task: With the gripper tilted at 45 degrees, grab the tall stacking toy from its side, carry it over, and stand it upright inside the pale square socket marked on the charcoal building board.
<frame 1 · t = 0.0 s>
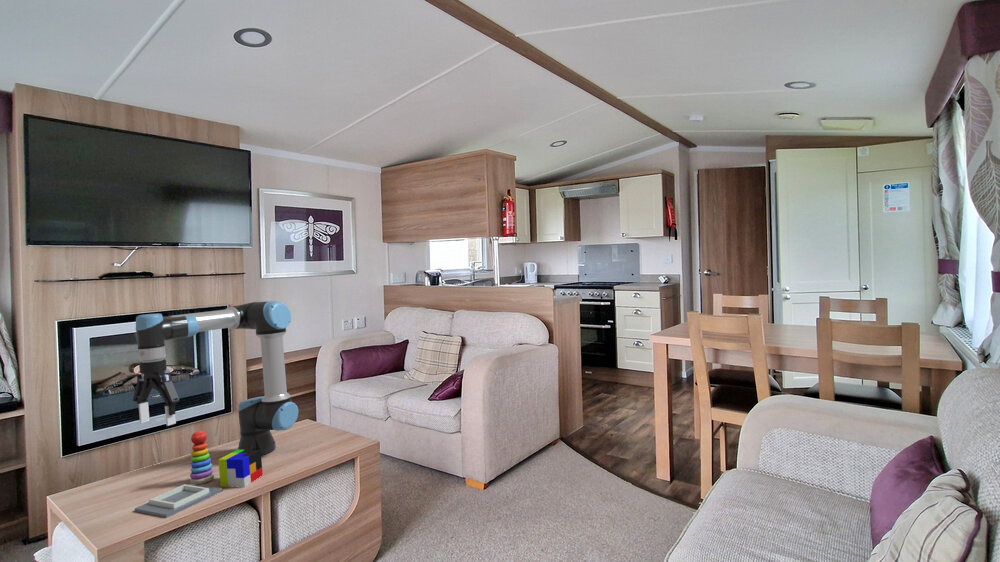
hand: (157, 423, 175), 28 cm above the table, tool pointing down, fingers open, 13 cm apart
building board: (180, 501, 178), on the table
stacking toy: (202, 481, 196), on the table
puzzle toy: (242, 481, 193), on the table
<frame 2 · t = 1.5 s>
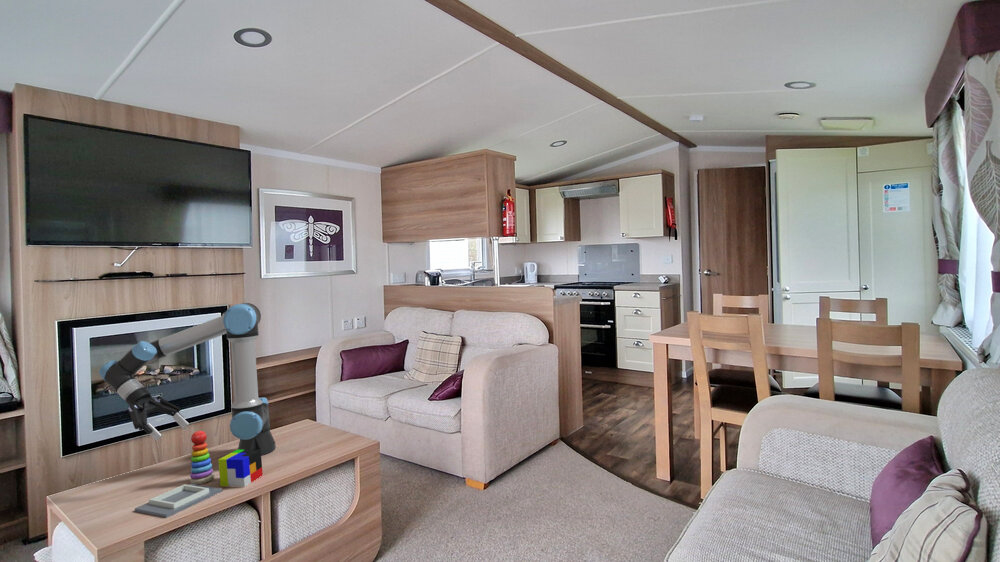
hand: (173, 432, 197), 19 cm above the table, tool tilted 45°, fingers open, 13 cm apart
nothing on the table moved.
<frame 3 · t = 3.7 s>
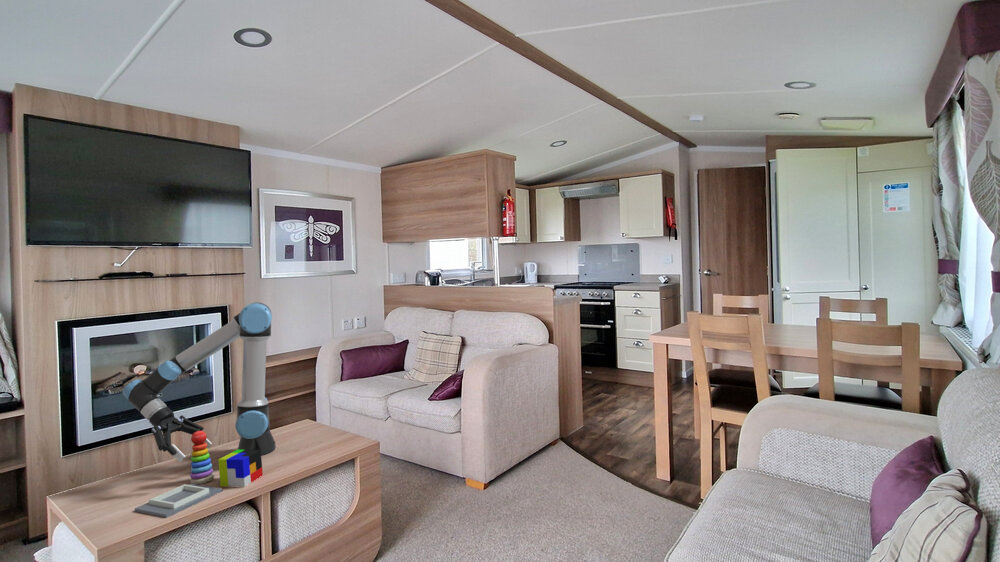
hand: (196, 452, 195), 11 cm above the table, tool tilted 45°, fingers open, 13 cm apart
nothing on the table moved.
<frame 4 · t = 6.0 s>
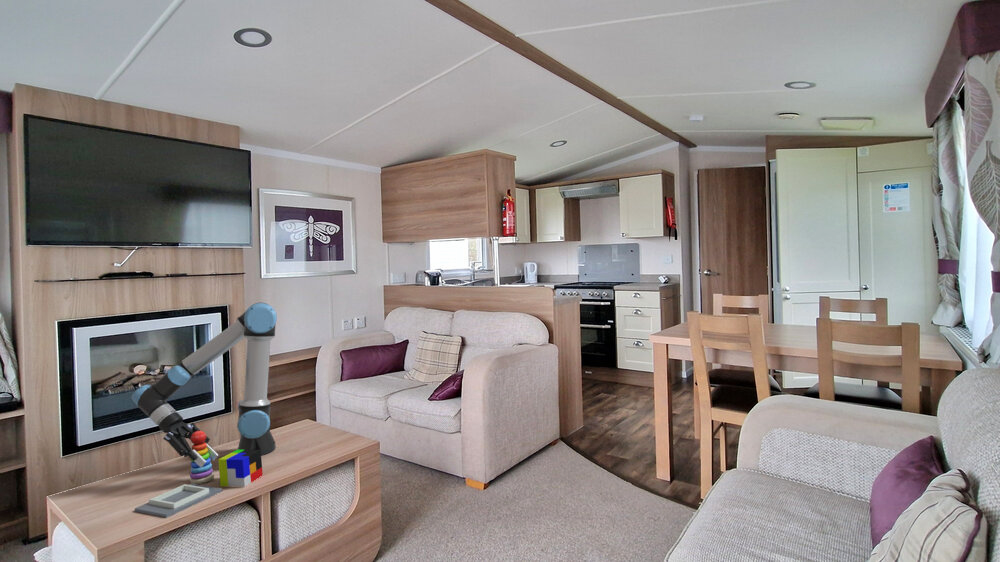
hand: (209, 461, 195), 7 cm above the table, tool tilted 45°, fingers closed on stacking toy, 6 cm apart
stacking toy: (202, 481, 196), on the table, touching gripper
everything else where it was.
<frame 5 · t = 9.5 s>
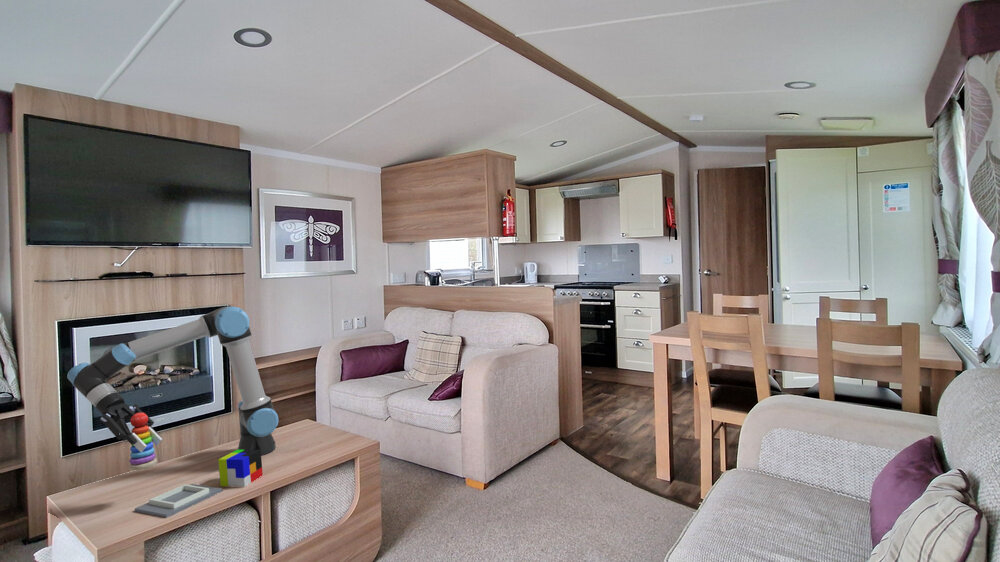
hand: (151, 445, 179), 19 cm above the table, tool tilted 45°, fingers closed on stacking toy, 6 cm apart
stacking toy: (143, 467, 180), point 12 cm above the table, touching gripper
everything else where it was.
when the fingers open (10 cm above the table, at t = 13.0 s): stacking toy drops 1 cm, resting on building board.
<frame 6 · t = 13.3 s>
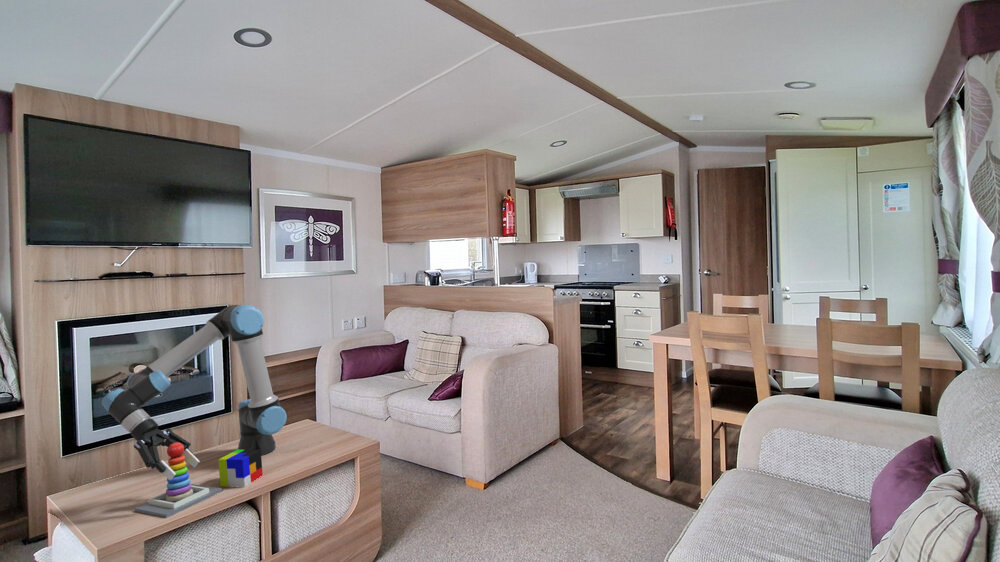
hand: (185, 470, 178), 11 cm above the table, tool tilted 45°, fingers open, 10 cm apart
stacking toy: (179, 498, 179), point 1 cm above the table, touching building board
everything else where it was.
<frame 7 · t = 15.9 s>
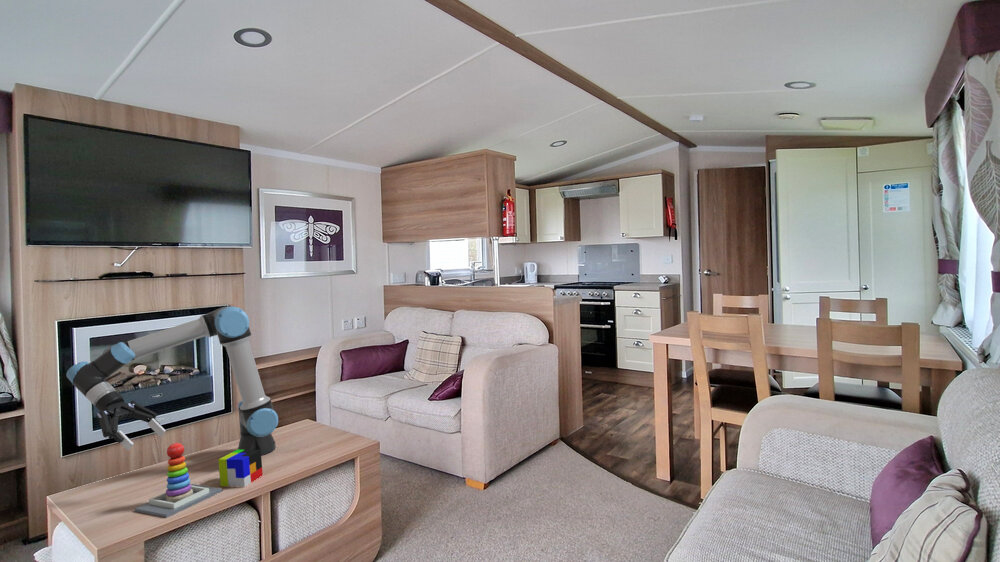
hand: (147, 440, 179), 21 cm above the table, tool tilted 45°, fingers open, 13 cm apart
nothing on the table moved.
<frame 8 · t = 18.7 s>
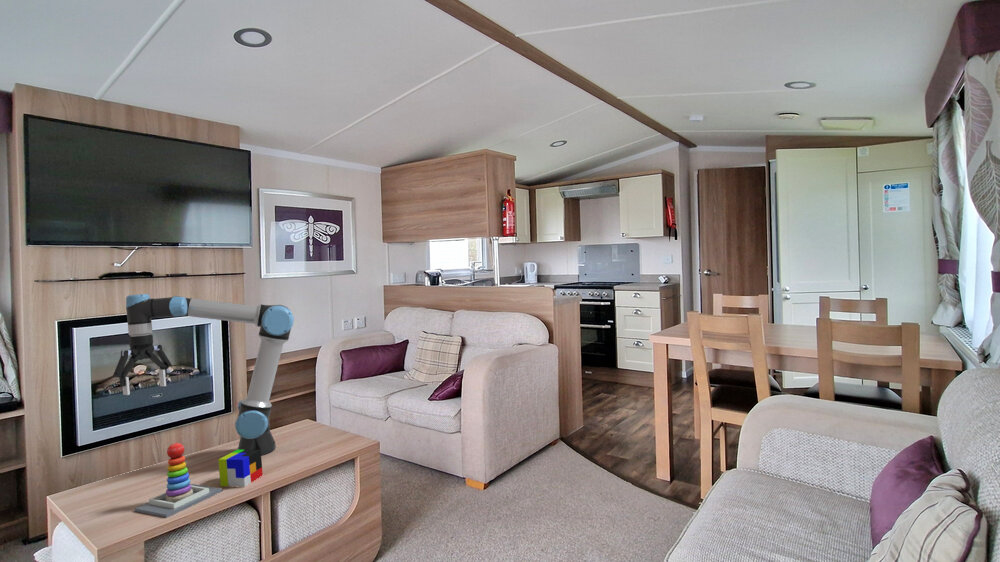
hand: (145, 390, 199), 35 cm above the table, tool pointing down, fingers open, 13 cm apart
nothing on the table moved.
at the end: stacking toy 0.1 cm off-centre on the building board, point 0.8 cm above the building board's base; stacking toy tilted 0°; the gripper is holding nothing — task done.
